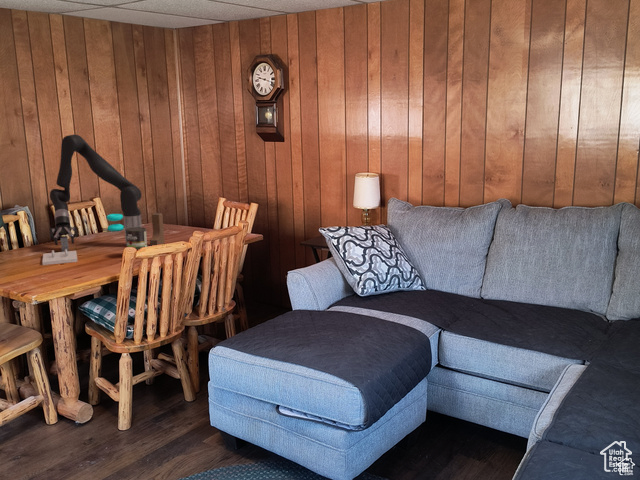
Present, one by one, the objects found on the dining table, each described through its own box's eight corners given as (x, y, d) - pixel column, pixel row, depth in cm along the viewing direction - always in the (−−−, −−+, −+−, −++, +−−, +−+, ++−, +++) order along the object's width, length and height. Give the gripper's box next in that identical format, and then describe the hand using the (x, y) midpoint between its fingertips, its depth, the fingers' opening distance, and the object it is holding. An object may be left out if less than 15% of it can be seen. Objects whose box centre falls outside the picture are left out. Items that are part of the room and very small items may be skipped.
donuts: (103, 214, 381) (117, 212, 388) (104, 230, 383) (119, 228, 390) (111, 216, 374) (125, 214, 381) (112, 232, 376) (127, 229, 384)
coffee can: (139, 258, 307) (137, 231, 305) (123, 256, 311) (121, 230, 308) (152, 253, 317) (150, 227, 314) (136, 252, 321) (134, 226, 318)
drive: (61, 250, 327) (60, 236, 325) (69, 250, 328) (67, 235, 326) (61, 252, 322) (60, 238, 320) (69, 252, 323) (67, 237, 322)
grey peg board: (43, 256, 314) (42, 248, 313) (76, 253, 320) (75, 245, 319) (42, 265, 296) (41, 256, 295) (77, 261, 302) (76, 252, 301)
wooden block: (157, 248, 330) (155, 215, 327) (150, 247, 331) (147, 215, 327) (164, 244, 339) (162, 213, 335) (157, 244, 340) (155, 213, 336)
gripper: (47, 216, 325) (49, 241, 317) (75, 214, 330) (78, 238, 322) (48, 224, 331) (50, 249, 323) (76, 222, 336) (79, 246, 328)
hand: (64, 243), depth 323 cm, fingers open, 7 cm apart
